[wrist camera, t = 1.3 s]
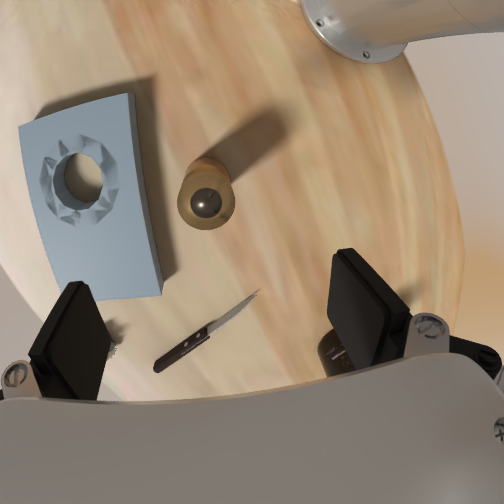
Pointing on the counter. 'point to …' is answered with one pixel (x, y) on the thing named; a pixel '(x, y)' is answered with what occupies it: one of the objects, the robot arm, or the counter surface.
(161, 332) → the counter surface
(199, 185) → the amber peg
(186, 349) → the kitchen knife
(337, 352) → the supplement bottle
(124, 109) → the plate
